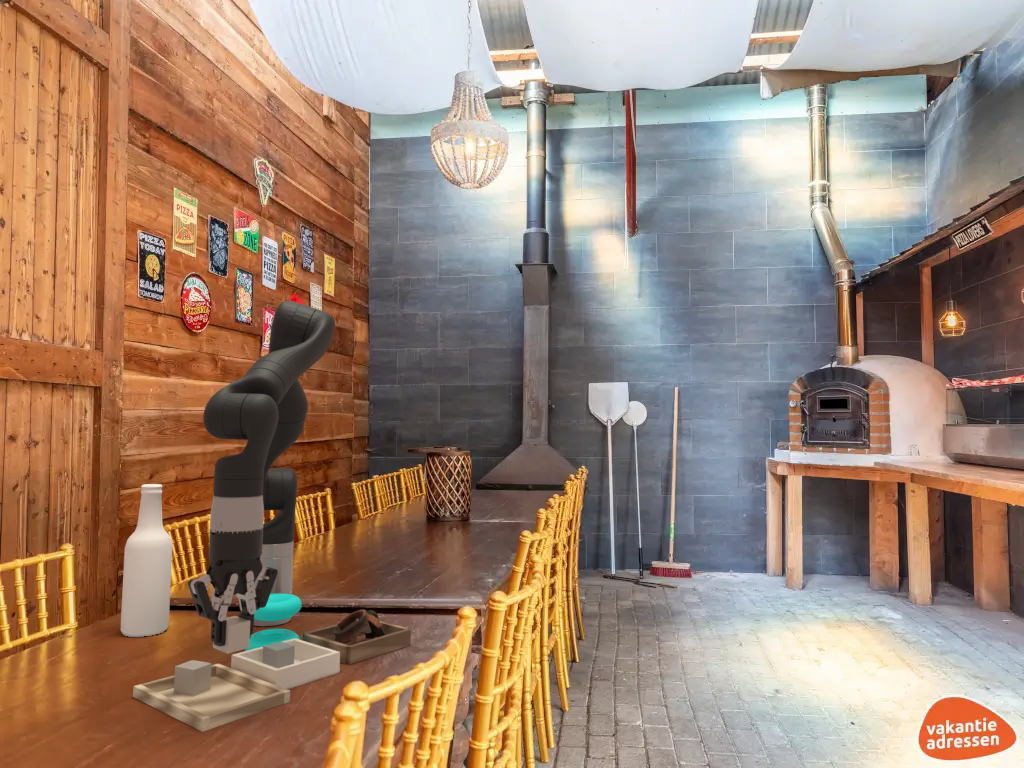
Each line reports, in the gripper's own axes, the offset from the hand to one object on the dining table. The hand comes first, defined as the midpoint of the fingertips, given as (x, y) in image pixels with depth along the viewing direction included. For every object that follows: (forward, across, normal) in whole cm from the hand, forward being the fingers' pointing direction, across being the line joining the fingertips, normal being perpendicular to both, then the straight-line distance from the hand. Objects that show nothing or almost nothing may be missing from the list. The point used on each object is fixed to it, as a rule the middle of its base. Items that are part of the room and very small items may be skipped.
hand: (231, 641), depth 106 cm
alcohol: (+11, -12, -51) cm, 54 cm away
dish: (+10, -14, -6) cm, 18 cm away
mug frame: (+11, -33, -10) cm, 36 cm away
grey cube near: (+1, 0, 0) cm, 1 cm away
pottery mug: (+11, -34, -9) cm, 37 cm away
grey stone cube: (+10, 0, -10) cm, 14 cm away
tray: (+10, 0, -5) cm, 11 cm away
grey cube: (+10, -14, -8) cm, 19 cm away
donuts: (+11, -21, -20) cm, 31 cm away
